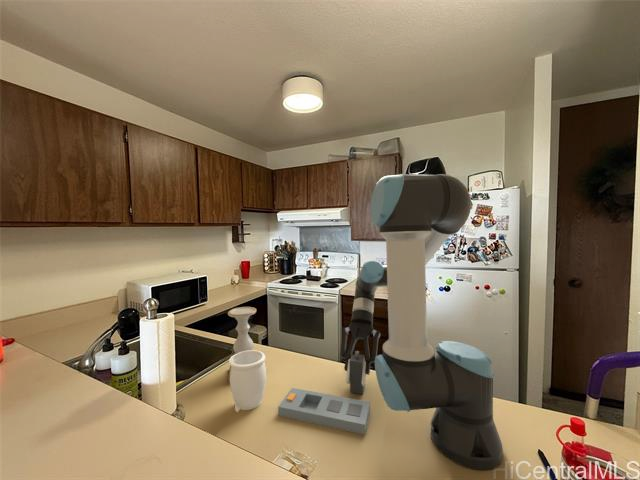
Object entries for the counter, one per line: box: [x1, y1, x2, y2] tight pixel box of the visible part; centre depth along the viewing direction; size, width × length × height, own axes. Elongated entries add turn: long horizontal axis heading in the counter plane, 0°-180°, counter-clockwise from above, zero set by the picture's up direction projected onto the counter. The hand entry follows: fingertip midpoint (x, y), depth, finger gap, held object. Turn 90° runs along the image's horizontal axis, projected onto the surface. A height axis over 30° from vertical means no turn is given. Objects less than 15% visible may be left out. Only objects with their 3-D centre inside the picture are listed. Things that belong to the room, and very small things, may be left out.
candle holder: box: [227, 306, 257, 385], centre depth 96 cm, size 11×11×24 cm
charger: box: [349, 350, 366, 395], centre depth 82 cm, size 4×5×12 cm
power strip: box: [277, 387, 371, 435], centre depth 72 cm, size 24×9×4 cm, turn 72°
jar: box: [228, 349, 267, 413], centre depth 78 cm, size 11×10×15 cm
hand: (355, 383), depth 79 cm, fingers closed on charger, 4 cm apart
